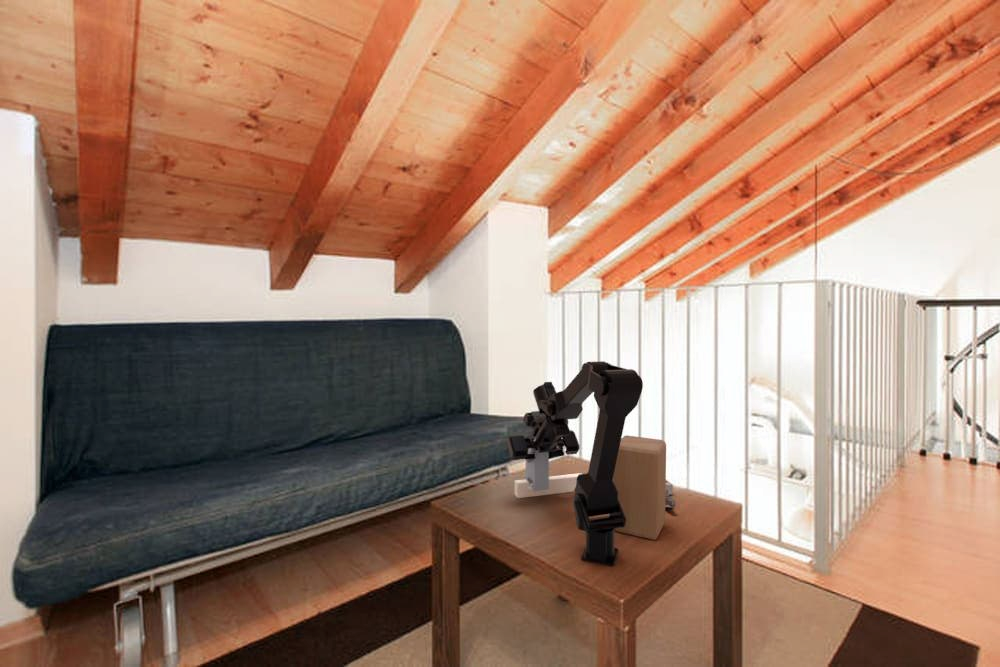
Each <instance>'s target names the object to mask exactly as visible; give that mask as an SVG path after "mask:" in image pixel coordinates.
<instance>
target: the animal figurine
mask: <svg viewBox="0 0 1000 667" xmlns="http://www.w3.org/2000/svg"><path fill="white" fill-rule="evenodd" d="M665 508H669V509H670V508H671V509H674V508H676V500H675V499H674V498H673V497H672V496H671V495H668V494H667V492H666V495H665Z"/></svg>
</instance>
